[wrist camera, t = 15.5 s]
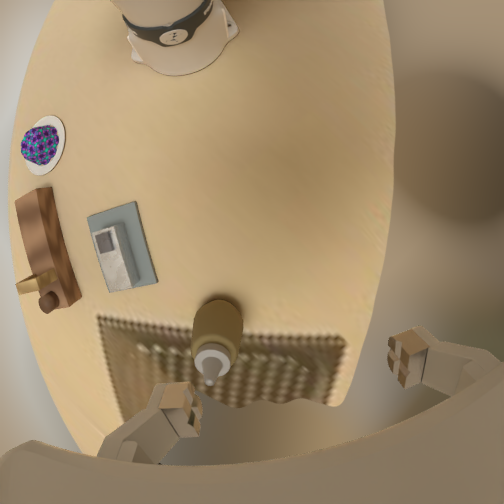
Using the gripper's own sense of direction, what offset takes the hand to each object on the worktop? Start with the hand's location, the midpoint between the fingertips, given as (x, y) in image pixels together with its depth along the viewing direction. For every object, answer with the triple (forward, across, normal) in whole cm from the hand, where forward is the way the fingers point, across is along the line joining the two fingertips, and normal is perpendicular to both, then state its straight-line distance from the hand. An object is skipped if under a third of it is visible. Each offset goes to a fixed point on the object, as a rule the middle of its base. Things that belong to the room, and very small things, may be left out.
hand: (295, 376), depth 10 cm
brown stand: (+34, +39, -6) cm, 52 cm away
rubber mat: (+34, +23, -2) cm, 41 cm away
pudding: (+35, +36, -26) cm, 56 cm away
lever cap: (+33, +23, -1) cm, 40 cm away
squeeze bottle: (+34, +9, +13) cm, 38 cm away
